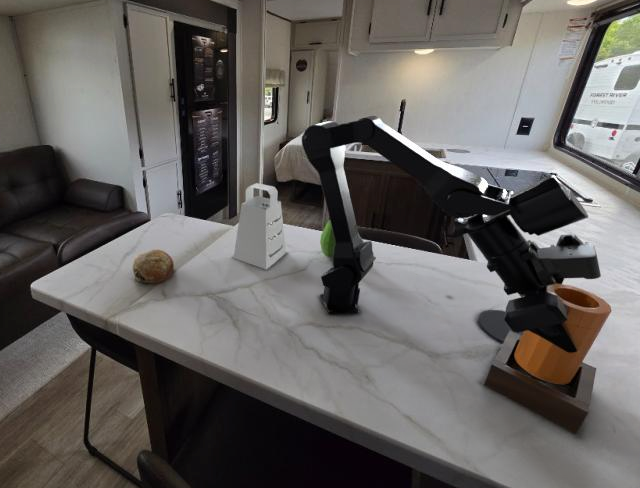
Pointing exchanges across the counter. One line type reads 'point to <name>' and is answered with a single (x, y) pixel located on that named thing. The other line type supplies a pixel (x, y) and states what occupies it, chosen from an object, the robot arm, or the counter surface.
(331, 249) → the avocado
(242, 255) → the grater
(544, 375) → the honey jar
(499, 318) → the coaster
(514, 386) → the open rectangular box
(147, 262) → the bread roll
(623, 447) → the counter surface
